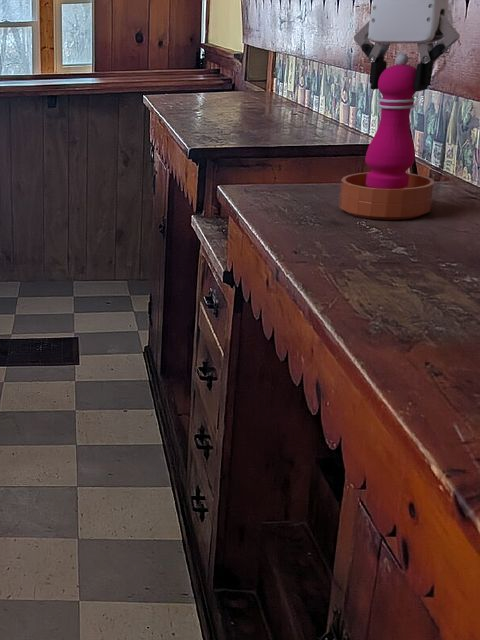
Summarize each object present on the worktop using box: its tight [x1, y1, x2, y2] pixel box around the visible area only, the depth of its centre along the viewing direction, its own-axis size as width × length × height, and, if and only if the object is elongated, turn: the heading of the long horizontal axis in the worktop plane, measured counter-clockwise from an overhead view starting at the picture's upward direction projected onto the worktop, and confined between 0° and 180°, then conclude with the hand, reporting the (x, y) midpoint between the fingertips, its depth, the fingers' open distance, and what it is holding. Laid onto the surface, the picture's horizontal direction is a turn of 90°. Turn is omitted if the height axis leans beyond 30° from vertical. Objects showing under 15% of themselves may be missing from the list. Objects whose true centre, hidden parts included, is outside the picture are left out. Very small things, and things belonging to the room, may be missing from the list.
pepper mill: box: [364, 53, 418, 189], centre depth 135 cm, size 7×7×20 cm
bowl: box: [338, 171, 436, 221], centre depth 139 cm, size 14×14×5 cm
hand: (398, 88), depth 133 cm, fingers closed on pepper mill, 6 cm apart
